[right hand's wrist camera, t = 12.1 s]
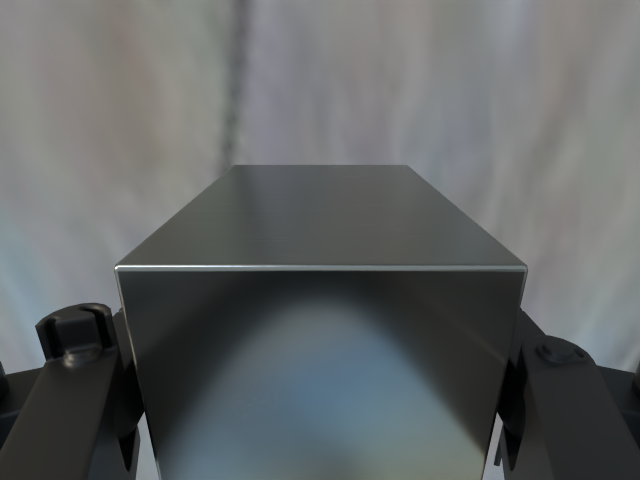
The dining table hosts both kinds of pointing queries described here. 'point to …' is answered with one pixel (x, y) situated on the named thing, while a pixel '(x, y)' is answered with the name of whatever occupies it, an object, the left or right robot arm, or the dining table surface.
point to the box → (320, 328)
